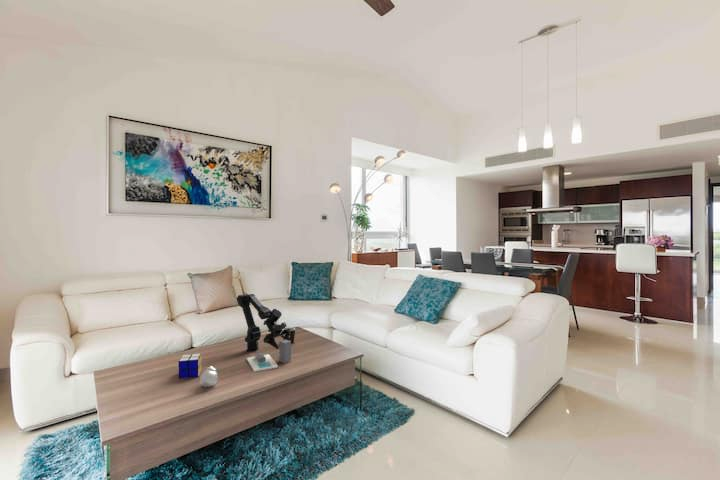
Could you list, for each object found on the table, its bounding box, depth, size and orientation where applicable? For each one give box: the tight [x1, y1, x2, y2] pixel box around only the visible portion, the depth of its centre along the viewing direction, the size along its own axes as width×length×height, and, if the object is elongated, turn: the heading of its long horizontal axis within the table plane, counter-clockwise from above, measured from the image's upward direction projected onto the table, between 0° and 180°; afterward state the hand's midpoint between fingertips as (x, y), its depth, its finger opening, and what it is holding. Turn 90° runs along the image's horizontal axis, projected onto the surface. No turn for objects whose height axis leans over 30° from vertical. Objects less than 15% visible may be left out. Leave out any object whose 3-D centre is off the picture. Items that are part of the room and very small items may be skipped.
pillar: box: [278, 339, 292, 364], centre depth 217 cm, size 5×5×12 cm
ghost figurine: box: [199, 365, 219, 388], centre depth 182 cm, size 9×10×10 cm
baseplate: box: [246, 352, 279, 373], centre depth 213 cm, size 22×14×4 cm, turn 29°
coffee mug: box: [280, 327, 296, 345], centre depth 252 cm, size 12×9×10 cm
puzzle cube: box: [178, 353, 202, 380], centre depth 196 cm, size 10×10×10 cm
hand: (283, 346), depth 218 cm, fingers open, 9 cm apart
